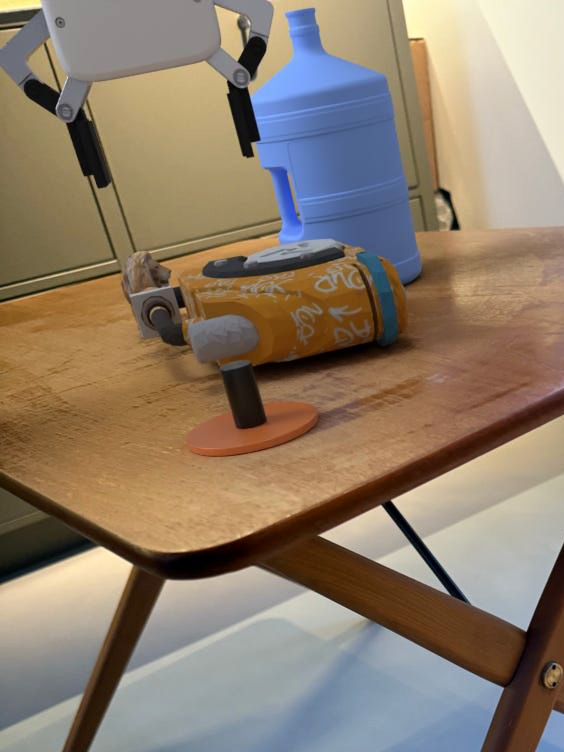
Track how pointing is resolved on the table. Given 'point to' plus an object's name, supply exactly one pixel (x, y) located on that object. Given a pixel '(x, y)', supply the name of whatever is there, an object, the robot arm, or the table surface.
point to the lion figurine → (142, 276)
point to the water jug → (335, 152)
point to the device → (278, 304)
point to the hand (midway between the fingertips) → (177, 171)
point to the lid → (249, 418)
